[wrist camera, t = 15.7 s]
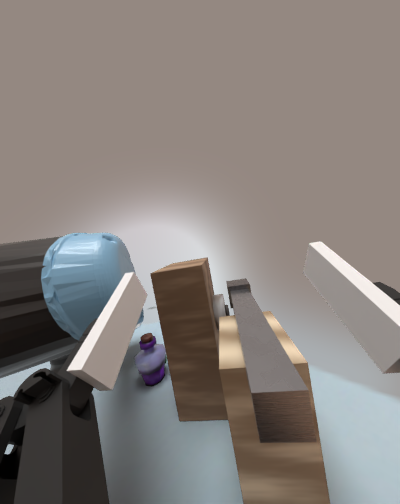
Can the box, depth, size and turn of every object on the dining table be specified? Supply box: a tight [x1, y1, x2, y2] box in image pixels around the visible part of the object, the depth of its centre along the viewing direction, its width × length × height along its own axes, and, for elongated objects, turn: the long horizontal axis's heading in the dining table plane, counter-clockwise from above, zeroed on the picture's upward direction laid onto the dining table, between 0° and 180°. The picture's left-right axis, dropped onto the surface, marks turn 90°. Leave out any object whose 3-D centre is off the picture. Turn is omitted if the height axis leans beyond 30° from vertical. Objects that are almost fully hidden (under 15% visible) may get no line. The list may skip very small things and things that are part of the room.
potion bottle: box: [134, 333, 167, 386], centre depth 43 cm, size 9×9×12 cm
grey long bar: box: [227, 279, 317, 443], centre depth 23 cm, size 26×4×4 cm, turn 173°
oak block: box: [219, 311, 330, 504], centre depth 23 cm, size 12×9×20 cm
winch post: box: [151, 258, 230, 421], centre depth 37 cm, size 14×13×30 cm
